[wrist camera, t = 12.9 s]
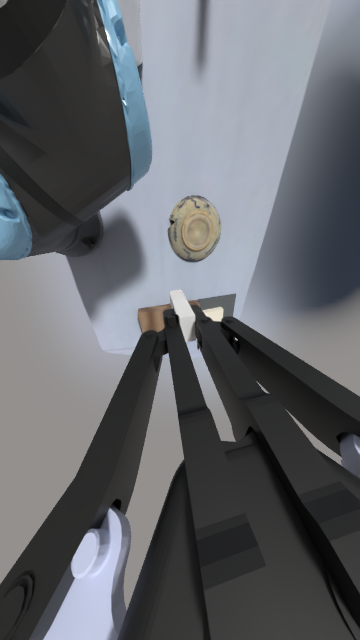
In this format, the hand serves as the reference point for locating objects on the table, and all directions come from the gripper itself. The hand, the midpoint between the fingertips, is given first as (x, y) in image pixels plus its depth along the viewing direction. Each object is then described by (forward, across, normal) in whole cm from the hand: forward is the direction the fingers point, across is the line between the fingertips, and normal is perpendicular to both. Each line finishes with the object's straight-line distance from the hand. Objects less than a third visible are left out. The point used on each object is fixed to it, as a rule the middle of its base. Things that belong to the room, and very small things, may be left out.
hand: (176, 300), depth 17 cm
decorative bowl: (+27, +10, +7) cm, 30 cm away
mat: (+26, +18, -20) cm, 37 cm away
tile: (+26, +15, -20) cm, 36 cm away
